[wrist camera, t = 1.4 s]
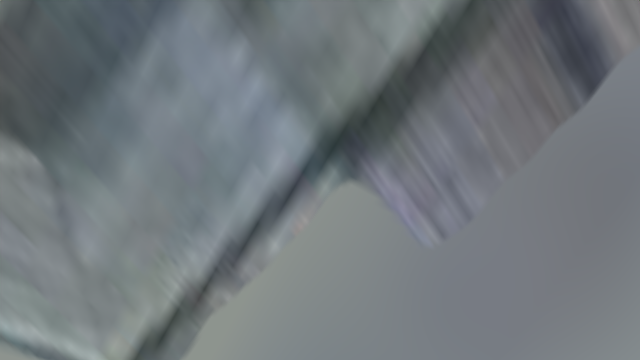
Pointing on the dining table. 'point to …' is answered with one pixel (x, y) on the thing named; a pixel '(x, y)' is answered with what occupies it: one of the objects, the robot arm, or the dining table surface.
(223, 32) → the dining table surface
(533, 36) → the dining table surface
